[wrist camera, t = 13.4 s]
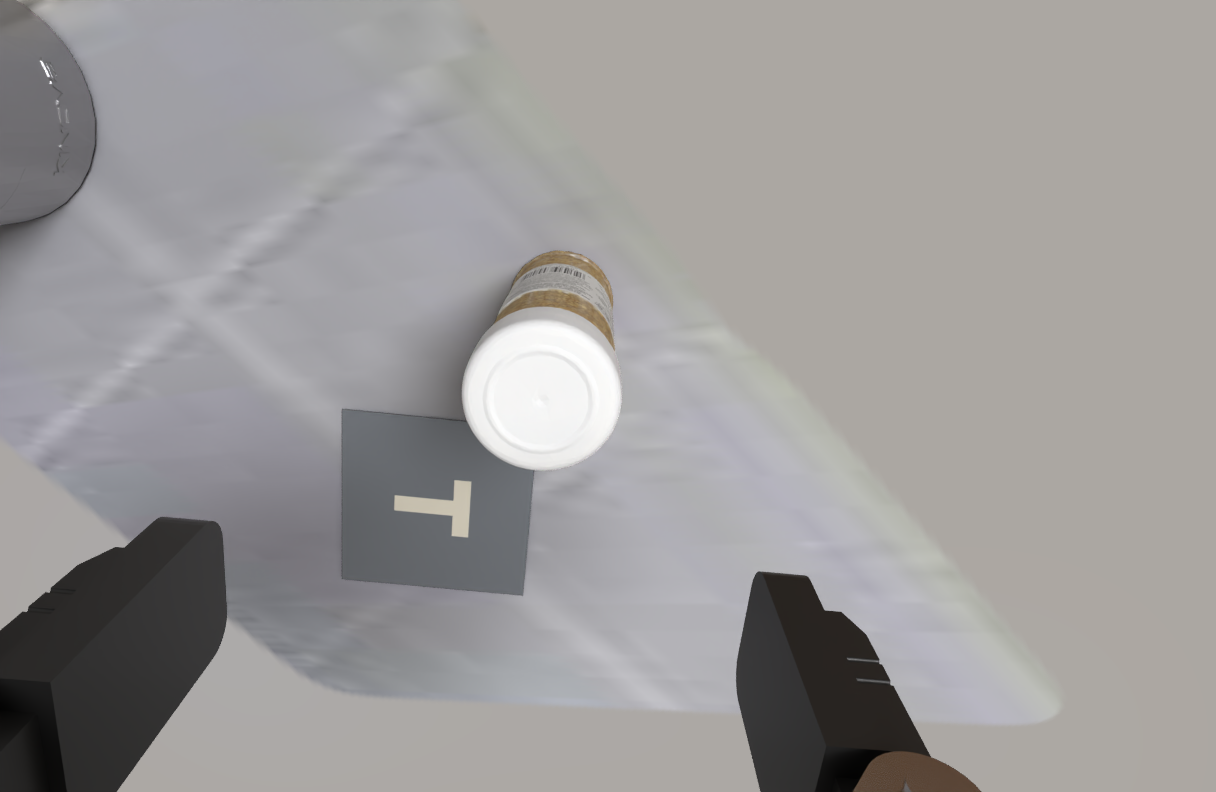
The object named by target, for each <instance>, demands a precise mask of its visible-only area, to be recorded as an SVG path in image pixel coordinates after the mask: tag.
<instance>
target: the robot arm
mask: <svg viewBox="0 0 1216 792" xmlns="http://www.w3.org/2000/svg"><path fill="white" fill-rule="evenodd" d="M94 147H95V117H94V111H93V106H92V101H91V96H90V93H89V90H88V88H87V85H86V83H85V80H84V78H83V75H82V73H81V70H80V68H79V67H78V65H77V63H76V62H75V60H74V58H73V57H72V55H71V53H70V52H69V50H68V49H67V47H66V45H65V44H64V43H63V42H62V41H61V39H60V38H59V37H58V36H57V35H56V34H55V33H54V31H53V30H52V29H51V28H50V27H49V26H48V25H47V23H46V22H44V21H43V20H42V19H41V18H40V17H38V16H37V15H36V14H35V13H33V12H32V11H31V10H30V9H28V8H27V7H26V6H25V5H24V4H22V3H20V2H18V1H17V0H0V225H6V224H12V223H18V222H25V221H29V220H32V219H35V218H38V217H41V216H44V215H47V214H49V213H51V212H52V211H54V210H55V209H57V208H58V207H60V206H61V205H63V204H64V203H66V202H67V201H68V199H69V198H70V197H71V196H72V195H73V194H74V193H75V192H76V191H77V189H78V188H79V187H80V186H81V184H82V182H83V180H84V178H85V176H86V174H87V172H88V170H89V168H90V164H91V160H92V156H93V151H94ZM226 620H227V603H226V586H225V569H224V552H223V537H222V531H221V528H220V526H219V525H218V523H216V522H214V521H204V520H193V519H182V518H171V517H160V518H158V519H156V520H155V521H154V522H153V523H152V524H150V525H149V526H148V527H147V528H146V529H145V530H144V531H143V532H141V533H140V534H139V535H138V536H137V537H136V538H135V539H134V540H132V541H131V542H130V543H129V544H128V545H127V546H126V547H125V548H119V547H115V548H113V549H110V550H109V551H106V552H104V553H102V554H100V555H98V556H96V557H94V558H92V559H90V560H88V561H85V562H83V563H81V564H79V565H77V566H76V567H75V568H74V569H73V570H71V571H70V572H69V573H68V574H67V575H66V576H64V577H63V578H62V579H61V580H60V581H58V582H57V583H56V584H55V585H54V586H52V587H51V591H50V593H46V592H45V593H44V594H43V595H42V596H41V597H40V598H38V599H37V600H36V601H35V602H34V603H32V604H31V605H30V606H29V608H28V611H27V612H22V613H21V614H19V615H18V616H17V617H16V618H15V619H14V620H12V621H11V622H10V623H9V624H8V625H6V626H5V627H4V628H3V629H2V630H0V792H117V790H118V789H119V788H120V786H121V785H122V783H123V782H124V781H125V779H126V778H127V777H128V775H129V774H130V772H131V771H132V770H133V768H134V767H135V765H136V764H137V762H138V761H139V760H140V758H141V757H142V756H143V754H144V753H145V752H146V750H147V749H148V747H149V746H150V745H151V743H152V742H153V741H154V739H155V738H156V736H157V735H158V734H159V732H160V731H161V729H162V728H163V727H164V725H165V724H166V722H167V721H168V720H169V718H170V717H171V715H172V714H173V713H174V711H175V710H176V709H177V707H178V706H179V705H180V703H181V702H182V700H183V699H184V698H185V696H186V695H187V693H188V692H189V691H190V689H191V688H192V687H193V685H194V683H195V682H196V681H197V680H198V678H199V677H200V675H201V674H202V673H203V671H204V670H205V669H206V667H207V666H208V664H209V663H210V662H211V660H212V659H213V657H214V656H215V654H216V652H217V651H218V649H219V646H220V644H221V641H222V638H223V634H224V631H225V627H226ZM736 687H737V696H738V702H739V706H740V710H741V714H742V718H743V722H744V726H745V730H746V734H747V738H748V742H749V746H750V750H751V755H752V759H753V763H754V767H755V771H756V775H757V779H758V783H759V787H760V791H761V792H981V791H980V790H979V789H978V787H976V785H975V784H974V783H972V782H971V781H970V780H969V779H968V778H967V777H966V776H964V775H963V774H961V773H960V772H958V771H957V770H956V769H954V768H952V767H950V766H949V765H947V764H945V763H943V762H941V761H939V760H937V759H934V758H931V756H930V754H929V752H928V751H927V749H926V747H925V745H924V743H923V741H922V739H921V737H920V736H919V734H918V732H917V730H916V728H915V726H914V724H913V722H912V720H911V718H910V717H909V715H908V713H907V711H906V709H905V707H904V705H903V703H902V701H901V700H900V698H899V696H898V694H897V692H896V690H895V688H894V686H891V685H890V679H889V677H888V675H887V673H886V671H885V669H884V667H883V666H882V665H881V664H879V658H878V656H877V654H876V652H875V650H874V649H873V647H872V645H871V643H870V641H869V639H868V637H867V635H866V634H865V633H864V632H863V631H862V630H861V629H859V628H858V627H857V626H856V625H855V624H854V623H853V622H852V621H851V620H850V619H848V618H847V617H846V616H845V615H844V614H843V613H842V612H836V611H825V610H824V608H823V606H822V604H821V602H820V600H819V598H818V596H817V594H816V591H815V589H814V587H813V585H812V583H811V581H810V579H809V578H808V577H807V576H805V575H793V574H782V573H771V572H757V573H756V575H755V577H754V579H753V582H752V587H751V592H750V597H749V602H748V607H747V612H746V617H745V622H744V627H743V632H742V637H741V643H740V648H739V653H738V659H737V669H736Z"/></svg>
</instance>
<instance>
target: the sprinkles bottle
mask: <svg viewBox="0 0 1216 792" xmlns="http://www.w3.org/2000/svg"><path fill="white" fill-rule="evenodd" d="M612 308H613V295H612V291H611V286H610V283H609V281H608V280H607V278H606V276H605V274H604V273H603V271H602V270H601V269H600V268H599V267H598V266H597V265H596V264H595V263H594V262H592V261H591V260H590V259H588V258H586V257H584V256H583V255H581V254H576V253H573V252H569V251H566V252H564V251H552V252H549V253H545V254H542V255H539V256H537V257H535V258H534V259H533V260H532V261H530V262H529V263H527V264H526V265H525V266H524V267H523V268H522V269H521V271H520V272H519V273H518V275H517V276H516V278H515V280H514V282H513V285H512V289H511V291H510V292H509V294H508V296H507V298H506V299H505V301H504V303H503V305H502V307H501V308H500V310H499V313H498V316H497V318H496V320H495V322H494V324H493V325H492V326H491V327H490V328H489V329H488V330H487V331H486V332H485V333H484V334H483V336H482V337H481V339H480V340H479V342H478V343H477V345H476V347H475V349H474V351H473V353H472V355H471V357H470V359H469V361H468V364H467V367H466V369H465V372H464V377H463V381H462V390H461V392H462V405H463V409H464V414H465V417H466V420H467V422H468V424H469V426H470V428H471V430H472V432H473V433H474V435H475V436H476V438H477V439H478V440H479V441H480V443H481V444H482V445H483V446H484V447H485V448H486V449H487V450H488V451H490V452H491V453H492V454H494V455H495V456H496V457H498V458H499V459H501V460H503V461H505V462H507V463H509V464H511V465H514V466H516V467H520V468H524V469H529V470H536V471H551V470H558V469H563V468H567V467H570V466H573V465H575V464H577V463H580V462H582V461H583V460H585V459H587V458H588V457H590V456H591V455H592V454H594V453H595V452H596V451H597V450H598V449H599V448H600V447H601V446H602V445H603V444H604V443H605V442H606V441H607V439H608V438H609V437H610V435H611V434H612V432H613V430H614V428H615V426H616V423H617V421H618V418H619V414H620V410H621V404H622V379H621V371H620V366H619V362H618V359H617V356H616V354H615V342H614V328H613V312H612Z"/></svg>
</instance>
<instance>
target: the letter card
mask: <svg viewBox="0 0 1216 792" xmlns="http://www.w3.org/2000/svg"><path fill="white" fill-rule="evenodd" d="M533 476H534V470H529V469H524V468H520V467H516V466H514V465H511V464H509V463H507V462H505V461H503V460H501V459H499V458H498V457H496V456H495V455H494V454H492V453H491V452H490V451H488V450H487V449H486V448H485V447H484V446H483V445H482V444H481V443H480V441H479V440H478V439H477V438H476V436H475V435H474V433H473V432H472V430H471V428H470V426H469V424H468V422H467V421H458V420H448V419H439V418H429V417H419V416H409V415H399V414H389V413H379V412H369V411H359V410H349V409H342V579H346V580H357V581H368V582H379V583H390V584H401V585H412V586H423V587H434V588H445V589H456V590H467V591H478V592H489V593H500V594H511V595H522V596H523V589H524V577H525V566H526V555H527V543H528V532H529V521H530V509H531V498H532V487H533Z"/></svg>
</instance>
